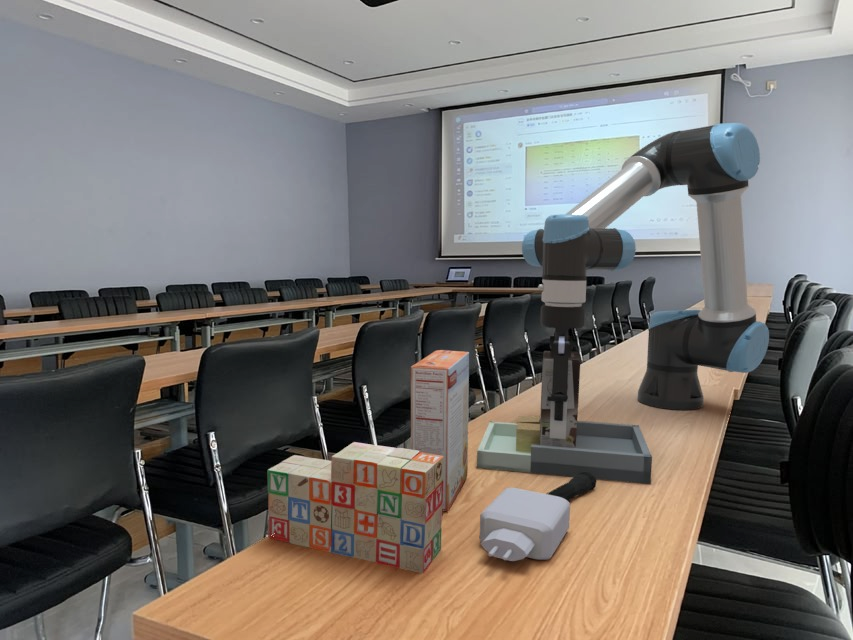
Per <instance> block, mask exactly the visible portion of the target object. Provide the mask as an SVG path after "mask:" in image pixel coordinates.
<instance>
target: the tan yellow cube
mask: <svg viewBox="0 0 853 640" xmlns="http://www.w3.org/2000/svg"><path fill="white" fill-rule="evenodd" d="M516 424H517V429H516V451H518V452H531V445H540V424H530V423H517V422H516Z"/></svg>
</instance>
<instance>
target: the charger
mask: <svg viewBox="0 0 853 640" xmlns="http://www.w3.org/2000/svg"><path fill="white" fill-rule="evenodd" d="M570 516H571V503H570V502H569V501H567V500H566V499H564V498H562V497H558V496H553V495H548V494H546V493H542V492H537V491H532V490H527V489H522V488H517V487H507V488H504V490H503V491H502V492H501V493H500V494H499V495H498V496H496V498H494V500H492V502H491V503H490V504H489V505H488V506H487V507H485V509H483V511H482V512H481V513H480V515H479V541H480V545H481V547H482V548H483V550H484V551H486V552H487V553H488V556H489V557H494V558H498V559H501V560H504V561H509V562H516V561H520V560H524V559H525V558H530V559H533V560H538V561H539V560H540V561H545V560H546V561H547V560H550V559H551V558H552V556H553V555H554V554H555V551H556V550H557V548H558V547H559V545H560V543H561V542H562V541H563V539H564V537H565V536H566V533H567V532H568V531H569V528H570V518H571V517H570Z"/></svg>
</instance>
